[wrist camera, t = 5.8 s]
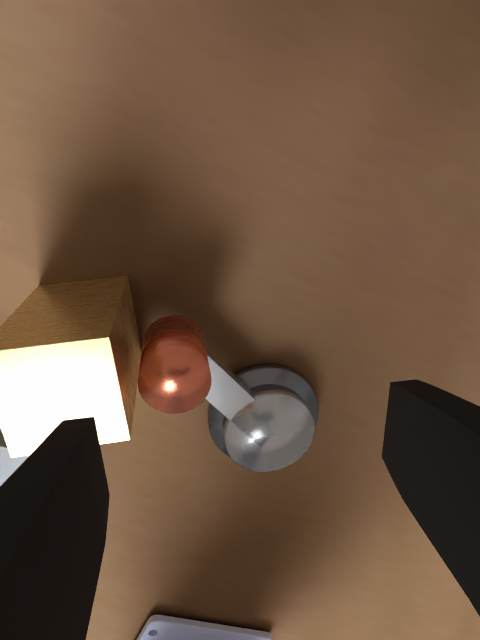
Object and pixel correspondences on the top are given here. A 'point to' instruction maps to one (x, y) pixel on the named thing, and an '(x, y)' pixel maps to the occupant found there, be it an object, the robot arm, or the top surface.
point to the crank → (223, 397)
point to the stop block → (69, 362)
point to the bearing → (262, 376)
